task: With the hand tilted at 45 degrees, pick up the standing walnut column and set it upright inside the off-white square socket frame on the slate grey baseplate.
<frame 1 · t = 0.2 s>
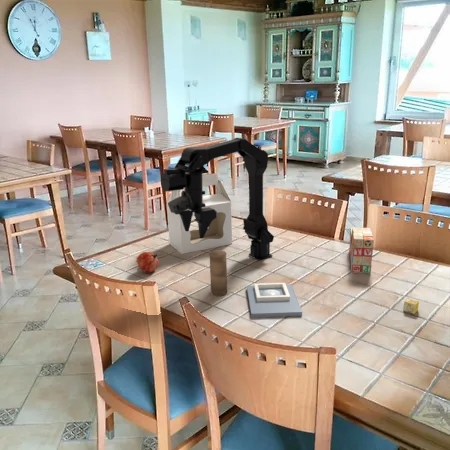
hand: (194, 234, 151), 14 cm above the table, tool pointing down, fingers open, 9 cm apart
gable box: (200, 244, 185), on the table
pomegranate: (147, 272, 159), on the table
alphabet block: (410, 311, 128), on the table
stack of blocks: (359, 262, 164), on the table
walnut column: (219, 292, 142), on the table
baseplate: (272, 301, 135), on the table
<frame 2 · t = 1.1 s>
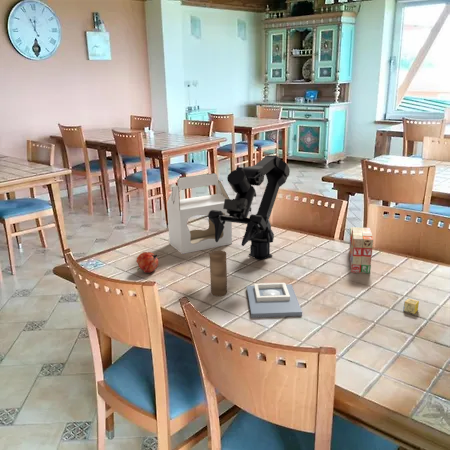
hand: (229, 243, 145), 13 cm above the table, tool tilted 45°, fingers open, 9 cm apart
nothing on the table moved.
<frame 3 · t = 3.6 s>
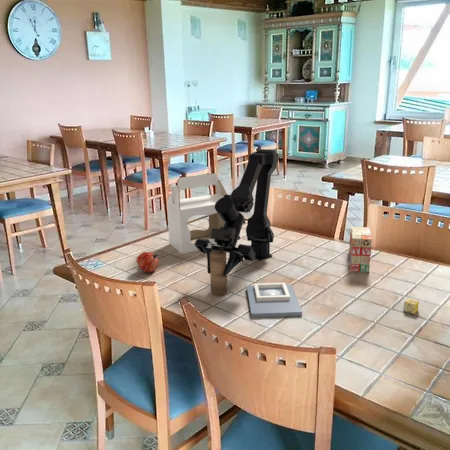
hand: (216, 274, 139), 7 cm above the table, tool tilted 45°, fingers closed on walnut column, 5 cm apart
walnut column: (219, 292, 142), on the table, touching gripper
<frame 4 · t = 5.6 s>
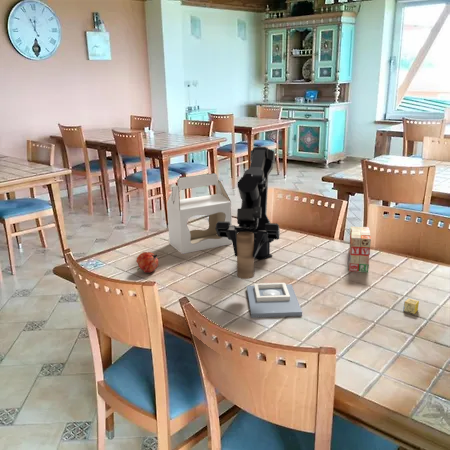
hand: (244, 256, 134), 13 cm above the table, tool tilted 45°, fingers closed on walnut column, 5 cm apart
walnut column: (245, 275, 137), point 7 cm above the table, touching gripper
when the fingers open (9 cm above the table, at t = 7.7 s): walnut column stays where it is, resting on baseplate.
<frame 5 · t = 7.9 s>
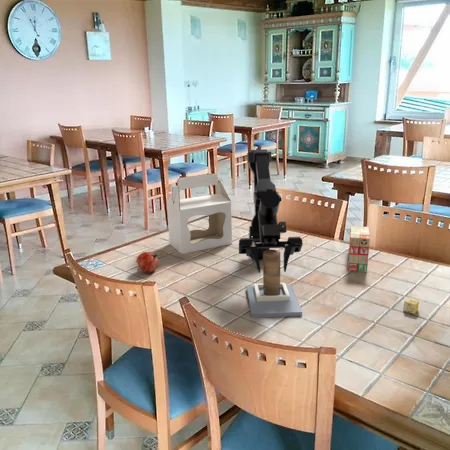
hand: (272, 271, 134), 9 cm above the table, tool tilted 45°, fingers open, 7 cm apart
walnut column: (271, 293, 138), point 1 cm above the table, touching baseplate
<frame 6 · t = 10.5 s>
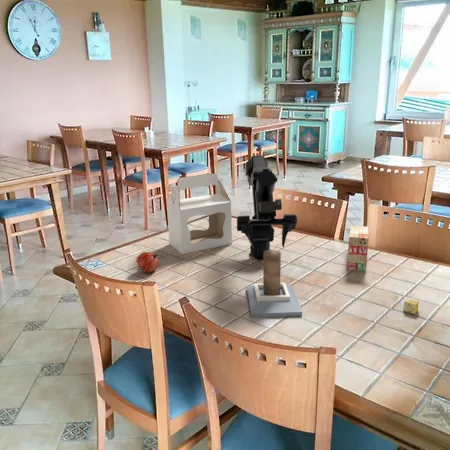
hand: (268, 246, 142), 13 cm above the table, tool tilted 45°, fingers open, 9 cm apart
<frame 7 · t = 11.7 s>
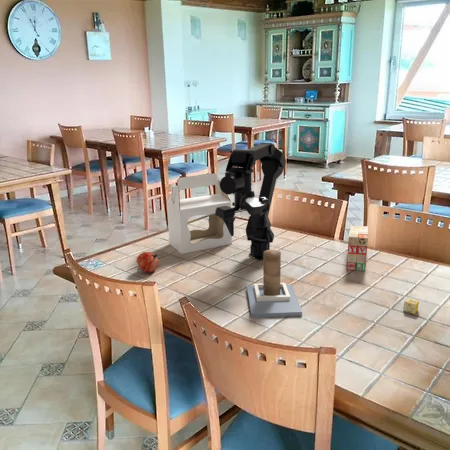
hand: (243, 233, 155), 13 cm above the table, tool pointing down, fingers open, 9 cm apart
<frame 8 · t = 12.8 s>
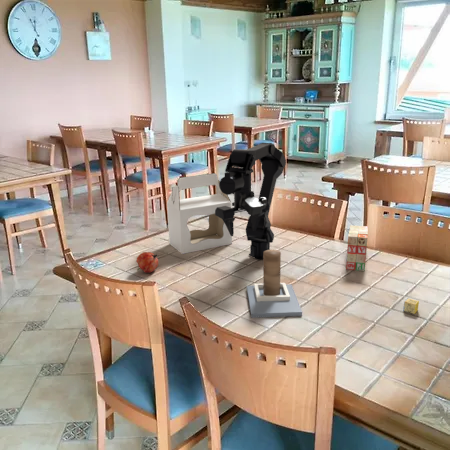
hand: (243, 233, 155), 13 cm above the table, tool pointing down, fingers open, 9 cm apart
at the end: walnut column 0.1 cm from the target spot on the baseplate, point 1.3 cm above the baseplate's base; walnut column tilted 0°; the gripper is holding nothing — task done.
